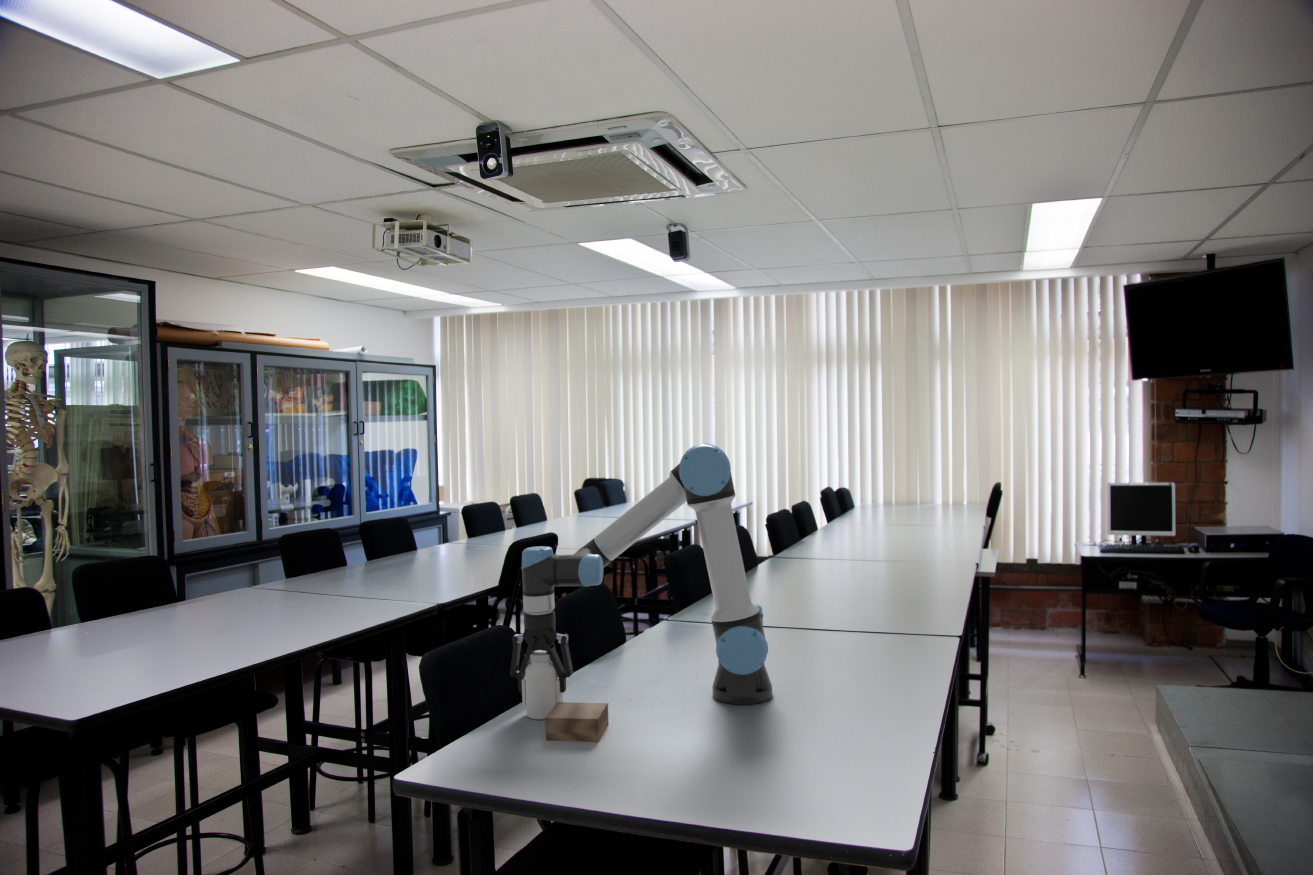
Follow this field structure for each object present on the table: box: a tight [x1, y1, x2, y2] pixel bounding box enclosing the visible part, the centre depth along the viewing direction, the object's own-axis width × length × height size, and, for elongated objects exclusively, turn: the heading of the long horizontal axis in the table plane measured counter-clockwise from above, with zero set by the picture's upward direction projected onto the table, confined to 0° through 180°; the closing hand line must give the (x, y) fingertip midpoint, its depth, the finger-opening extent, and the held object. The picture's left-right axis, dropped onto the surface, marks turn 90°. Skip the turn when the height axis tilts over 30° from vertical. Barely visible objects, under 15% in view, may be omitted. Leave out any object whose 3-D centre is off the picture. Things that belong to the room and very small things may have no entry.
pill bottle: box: [524, 650, 558, 720], centre depth 185 cm, size 8×8×15 cm
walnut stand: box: [544, 701, 609, 743], centre depth 172 cm, size 12×10×5 cm
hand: (542, 705), depth 184 cm, fingers closed on pill bottle, 8 cm apart
